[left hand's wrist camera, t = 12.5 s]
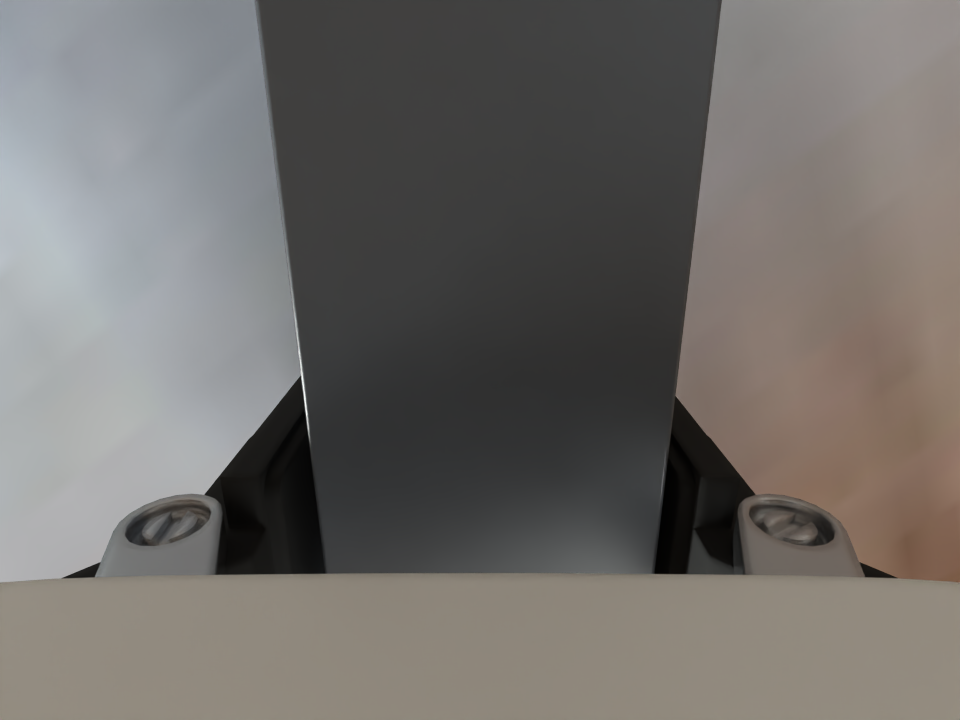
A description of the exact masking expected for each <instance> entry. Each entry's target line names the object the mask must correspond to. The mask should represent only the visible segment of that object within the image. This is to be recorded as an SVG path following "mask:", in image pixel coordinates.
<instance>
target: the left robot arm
mask: <svg viewBox="0 0 960 720" xmlns="http://www.w3.org/2000/svg"><path fill="white" fill-rule="evenodd" d="M0 720H960V583H957V582H945V581H930V580H914V579H899V578H896V577H894V576H892V575H889V574H887V573H884V572H882V571H880V570H877V569H875V568H872V567H870V566H867V565H865V564H863V563H860V562H859V560H858V558H857V556H856V553H855V551H854V548H853V546H852V543H851V541H850V538H849V536H848V533H847V531H846V530H845V528H844V527H843V525H842V524H841V522H840V521H839V520H837V519H836V518H835V517H834V516H833V515H831V514H830V513H829V512H827V511H825V510H823V509H822V508H820V507H818V506H816V505H814V504H811V503H809V502H806V501H804V500H801V499H797V498H793V497H789V496H785V495H776V494H761V495H755V493H754V492H753V491H752V490H751V488H750V487H749V486H748V485H747V483H746V482H745V481H744V480H743V478H742V477H741V476H740V475H739V473H738V472H737V471H736V470H735V468H734V467H733V466H732V465H731V463H730V462H729V461H728V460H727V459H726V457H725V456H724V455H723V454H722V452H721V451H720V450H719V449H718V447H717V446H716V445H715V444H714V442H713V441H712V440H711V439H710V438H709V437H708V436H707V435H706V434H705V433H704V431H703V430H702V429H701V427H700V426H699V425H698V424H697V422H696V421H695V420H694V419H693V417H692V416H691V415H690V414H689V412H688V411H687V410H686V409H685V407H684V406H683V405H682V404H681V402H680V401H679V400H678V399H677V397H676V396H675V402H674V411H673V419H672V428H671V436H670V445H669V453H668V462H667V470H666V479H665V487H664V496H663V504H662V513H661V521H660V530H659V538H658V547H657V555H656V564H655V572H654V574H587V573H349V574H325V568H324V559H323V551H322V543H321V535H320V527H319V519H318V511H317V502H316V494H315V486H314V478H313V470H312V462H311V454H310V446H309V437H308V429H307V421H306V413H305V405H304V397H303V389H302V380H301V376H300V377H299V379H298V380H297V381H296V382H295V384H294V385H293V386H292V387H291V389H290V390H289V391H288V392H287V394H286V395H285V396H284V397H283V399H282V400H281V401H280V402H279V404H278V405H277V406H276V407H275V409H274V410H273V411H272V412H271V414H270V415H269V416H268V417H267V419H266V420H265V421H264V422H263V424H262V425H261V426H260V427H259V429H258V430H257V431H256V432H255V434H254V435H253V436H252V437H251V438H250V439H249V440H248V441H247V442H246V443H245V445H244V446H243V447H242V448H241V450H240V451H239V452H238V453H237V455H236V456H235V457H234V458H233V460H232V461H231V462H230V463H229V465H228V466H227V467H226V468H225V470H224V471H223V472H222V473H221V475H220V476H219V477H218V478H217V480H216V481H215V482H214V483H213V485H212V486H211V487H210V488H209V490H208V491H207V492H206V493H205V495H199V494H184V495H175V496H171V497H167V498H163V499H159V500H156V501H154V502H151V503H149V504H146V505H144V506H142V507H140V508H138V509H137V510H135V511H133V512H131V513H130V514H129V515H127V516H126V517H125V518H124V519H123V520H121V521H120V522H119V524H118V525H117V527H116V528H115V530H114V531H113V533H112V536H111V538H110V541H109V543H108V546H107V548H106V551H105V553H104V556H103V558H102V560H101V562H100V563H97V564H95V565H93V566H90V567H88V568H85V569H83V570H80V571H78V572H76V573H73V574H71V575H68V576H66V577H64V578H61V579H44V580H31V581H17V582H3V583H0Z"/></svg>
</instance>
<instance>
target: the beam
mask: <svg viewBox="0 0 960 720" xmlns="http://www.w3.org/2000/svg"><path fill="white" fill-rule="evenodd" d="M721 2H722V0H255V6H256V15H257V23H258V31H259V39H260V47H261V55H262V63H263V71H264V80H265V88H266V96H267V104H268V112H269V120H270V128H271V137H272V145H273V153H274V161H275V169H276V177H277V185H278V193H279V202H280V210H281V218H282V226H283V234H284V242H285V250H286V258H287V267H288V275H289V283H290V291H291V299H292V307H293V315H294V324H295V332H296V340H297V348H298V356H299V364H300V372H301V380H302V389H303V397H304V405H305V413H306V421H307V429H308V437H309V446H310V454H311V462H312V470H313V478H314V486H315V494H316V502H317V511H318V519H319V527H320V535H321V543H322V551H323V559H324V568H325V574H349V573H587V574H654V572H655V564H656V555H657V547H658V538H659V530H660V521H661V513H662V504H663V496H664V487H665V479H666V470H667V462H668V453H669V445H670V436H671V428H672V419H673V411H674V402H675V394H676V385H677V377H678V368H679V360H680V351H681V343H682V334H683V326H684V317H685V309H686V300H687V292H688V283H689V275H690V266H691V258H692V249H693V241H694V232H695V224H696V215H697V207H698V198H699V189H700V181H701V172H702V164H703V155H704V147H705V138H706V130H707V121H708V113H709V104H710V96H711V87H712V79H713V70H714V62H715V53H716V45H717V36H718V28H719V19H720V11H721Z"/></svg>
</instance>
